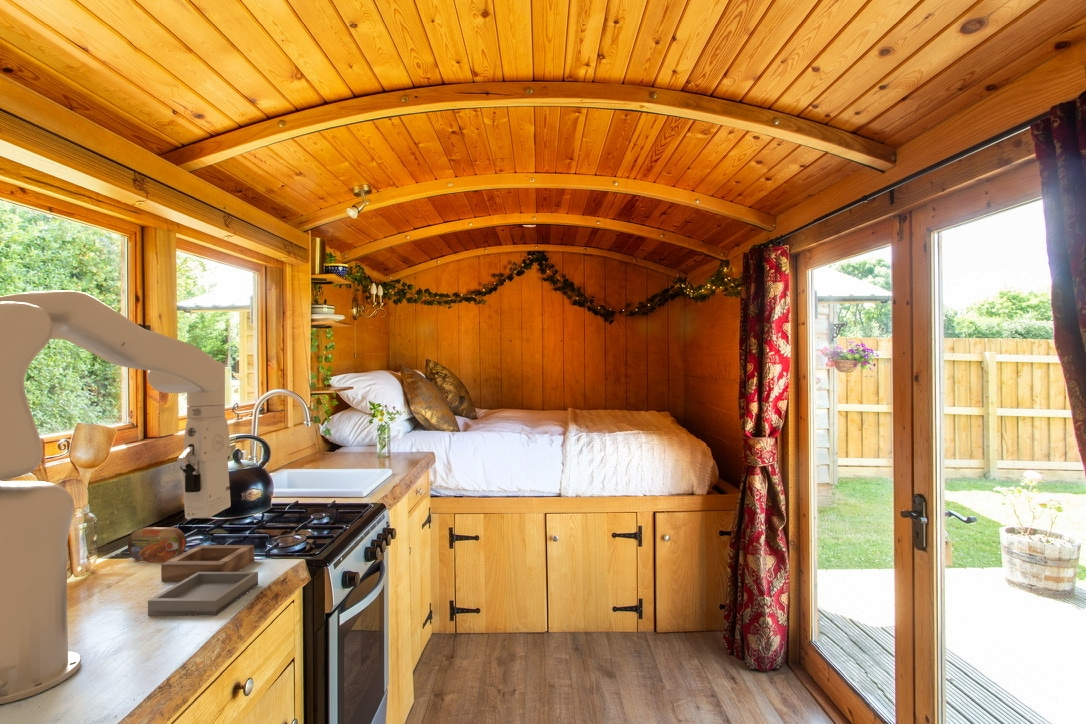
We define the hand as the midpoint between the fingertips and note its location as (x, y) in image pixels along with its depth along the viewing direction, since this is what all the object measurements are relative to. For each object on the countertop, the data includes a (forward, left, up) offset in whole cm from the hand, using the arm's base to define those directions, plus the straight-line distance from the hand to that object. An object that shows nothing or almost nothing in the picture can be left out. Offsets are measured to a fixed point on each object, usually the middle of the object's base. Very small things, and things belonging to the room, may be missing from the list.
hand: (206, 487), depth 120 cm
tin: (+11, +22, -22) cm, 33 cm away
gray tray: (-11, -7, -21) cm, 25 cm away
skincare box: (+1, 0, -6) cm, 6 cm away
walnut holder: (+4, +3, -21) cm, 22 cm away
